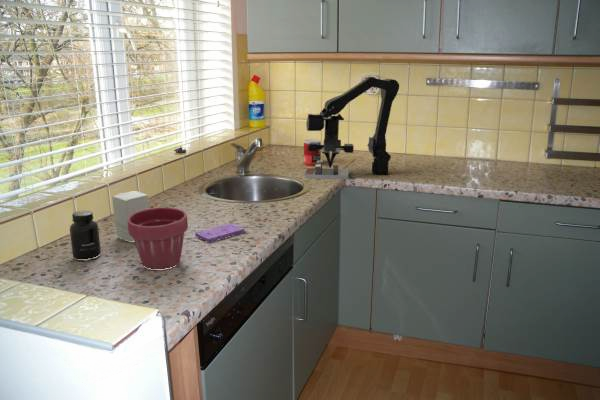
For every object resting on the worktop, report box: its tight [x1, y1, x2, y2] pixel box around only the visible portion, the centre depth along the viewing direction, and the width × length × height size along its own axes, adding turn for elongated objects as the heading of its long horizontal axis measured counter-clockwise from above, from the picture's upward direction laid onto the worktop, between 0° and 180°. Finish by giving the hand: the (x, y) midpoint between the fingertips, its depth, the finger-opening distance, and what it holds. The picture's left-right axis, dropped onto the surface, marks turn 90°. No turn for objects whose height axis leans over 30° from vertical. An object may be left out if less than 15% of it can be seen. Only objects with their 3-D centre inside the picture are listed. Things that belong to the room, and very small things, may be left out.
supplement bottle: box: [69, 210, 102, 259], centre depth 131 cm, size 7×7×12 cm
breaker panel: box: [304, 159, 350, 180], centre depth 214 cm, size 18×11×5 cm, turn 83°
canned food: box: [303, 138, 322, 167], centre depth 233 cm, size 8×8×11 cm
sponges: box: [194, 223, 245, 243], centre depth 148 cm, size 7×13×2 cm, turn 132°
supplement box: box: [111, 190, 150, 241], centre depth 144 cm, size 7×7×13 cm
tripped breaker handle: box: [332, 161, 340, 172], centre depth 213 cm, size 2×2×4 cm
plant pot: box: [128, 206, 189, 269], centre depth 126 cm, size 14×14×13 cm
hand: (330, 167), depth 214 cm, fingers closed
